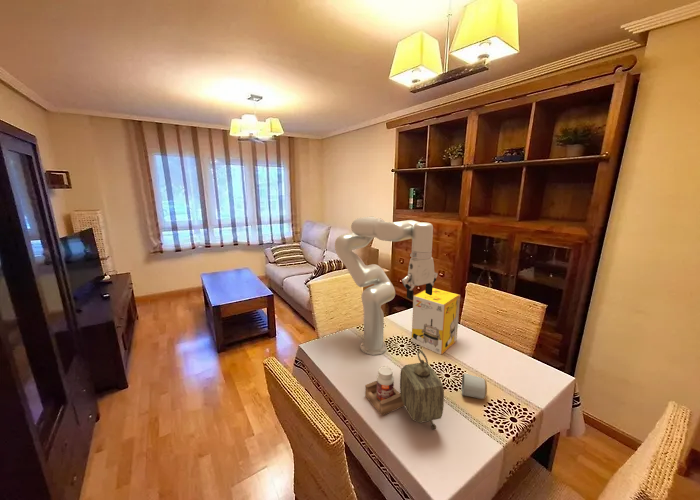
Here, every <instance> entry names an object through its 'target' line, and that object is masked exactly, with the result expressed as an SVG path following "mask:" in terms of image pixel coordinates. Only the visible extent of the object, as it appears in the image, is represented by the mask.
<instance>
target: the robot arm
mask: <svg viewBox="0 0 700 500" xmlns="http://www.w3.org/2000/svg"><path fill="white" fill-rule="evenodd" d="M350 224H351V225H350V229H351V231H352V232H349V233H343V234H341V235H339V236H338V237H336V239H335V242H334V249H335V250H334V251H335V253H336V256H337V257H338V258H339V260H340V261H341V262H342V264H343V265H344V266H345V268H346V269H347V272H349V273H348V274H350V276H351V278H352V280H353V281H354V283H355V284H356V286H357V287H359V288H365V287H367V288H365V289H364V290H363V291H362V293H361V303H362V308H363V334H361V338H363V340H362V342H361V344H360V350H361V351H362V352H363V353H365V354H367V355H370V356H371V355H372V356H378V355H383V354H384V353H385V352H386V351H387V344H386V343H385V342H384V331H385V328H384V327H385V326H384V325H385V324H384V322H385V321H384V320H385V319H384V318H385V317H384V316H385V314H384V311H383V309H382V308H381V307H382V305H384V304H386V303H388V302H390V301H392V300H393V299H394V298H395V296H396V290H395V287H394V285H393V283H392V282H391V280H390V279H389V277H388V276H387V274H386V272H385V271H384V269H383V268H382V267H381V266H380V265H378V264H374V263H372V264H369V265H368V264H367V265H366V264H365V263H364V261H363V260H362V258H361V257H360V256H359V255H358V254H357V253H355V252H354V250H358V249H363V248H365V247H367V246H368V245H369V244H370V243H371V241H372V240H373V239H374V238H376V239H378V240H379V241H385V242H392V243H396V242H401V241H406V240H411V253H409V257H411V258H410V259H409V263H408V269H407V270H408V271H407V275H406V276H405V277H404V278H402V279H401V282H402V284H403V287H404V288H405V289H406V298H407V299H408V300H410V301H413V296H414V295H415V294H414V290H413V289H414V288H415V287H417V286H418V287H419V286H423V285H425V290H426V291H425V293H427V294H429V295H432V288H434V287H433V286H434V285H435V282H436V281H437V277H438V274H439V273H438V272H436V271H435V263H434V261H435V260H434V258H433V257H432V255H433V253H432V252H433V238H434V237H433V235H434V226H433V224H432V223H430V222H426V221H424V222H423V221H421V222H420V221H417V220H414V219H407V220H401V221H392V222H390V221H386V220H384V219H382V218H379V217H374V216H363V217H358V218H355V219H354V220H353V221H352V222H351V223H350ZM368 286H369V287H368Z"/></svg>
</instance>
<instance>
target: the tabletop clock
mask: <svg viewBox="0 0 700 500" xmlns="http://www.w3.org/2000/svg"><path fill="white" fill-rule="evenodd" d="M416 353H417V358H418V360H419V362H416V363H409V364H405V365H404V366H403V367H402V368H401V370H400V373H399V374H400V375H399V393H400V395H401V399H402V401H403V403H404V405H405V406H404V407H405V409H406V411H407V412H408V415H409V416H410V418H411V420H413V421H415V422H417V423H419V424H421V423H424V422H429V423H430V425H431V426H430V427H431V429H432V430H433V431H435V430H436V429H437V425H436V424H434V423H433V421H437V420H440V419H442V418H443V417H442V416H443V412H444V404H445V402H444V401H445V392H444V385H443V383H442V380H441V379H440V378H439V376H438V374H437V373H436V372H435V370H434V369H433V368H432V367H431V366H430V364H429V361H428V358H427V355H426V354H425V352H424V351H422V349H418V350H417V352H416ZM420 354H421V355H422V356H423V358H424V359H425V360H424V359H421V357H420Z"/></svg>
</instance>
